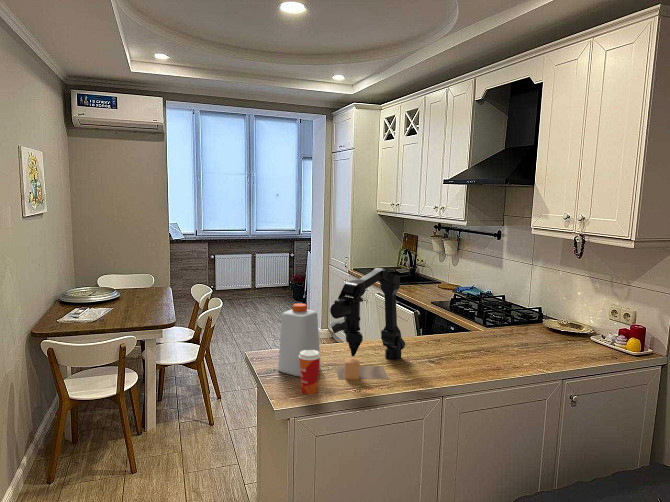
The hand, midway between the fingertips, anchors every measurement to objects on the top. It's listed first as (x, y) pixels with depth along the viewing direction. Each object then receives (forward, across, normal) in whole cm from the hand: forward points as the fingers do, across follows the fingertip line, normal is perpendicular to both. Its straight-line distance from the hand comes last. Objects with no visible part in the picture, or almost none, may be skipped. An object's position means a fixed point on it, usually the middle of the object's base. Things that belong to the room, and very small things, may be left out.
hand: (351, 352), depth 185 cm
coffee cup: (+12, +11, -17) cm, 23 cm away
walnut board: (+11, -4, +5) cm, 13 cm away
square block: (+10, 0, 0) cm, 10 cm away
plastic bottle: (+12, -11, -21) cm, 26 cm away
